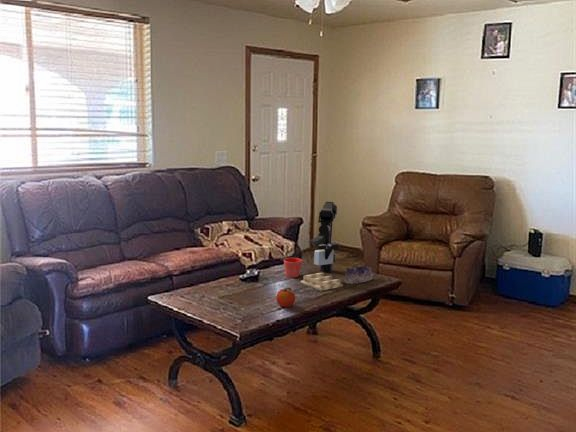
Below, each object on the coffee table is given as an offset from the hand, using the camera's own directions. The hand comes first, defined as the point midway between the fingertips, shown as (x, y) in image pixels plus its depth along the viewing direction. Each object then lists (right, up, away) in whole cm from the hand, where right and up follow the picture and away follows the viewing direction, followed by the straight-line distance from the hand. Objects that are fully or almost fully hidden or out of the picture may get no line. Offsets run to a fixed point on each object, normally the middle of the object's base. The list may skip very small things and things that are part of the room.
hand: (323, 258), depth 340 cm
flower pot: (-18, -11, +10) cm, 23 cm away
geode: (+20, -14, +5) cm, 25 cm away
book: (0, -3, 0) cm, 3 cm away
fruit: (-22, -21, -43) cm, 53 cm away
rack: (-2, -14, -5) cm, 15 cm away
